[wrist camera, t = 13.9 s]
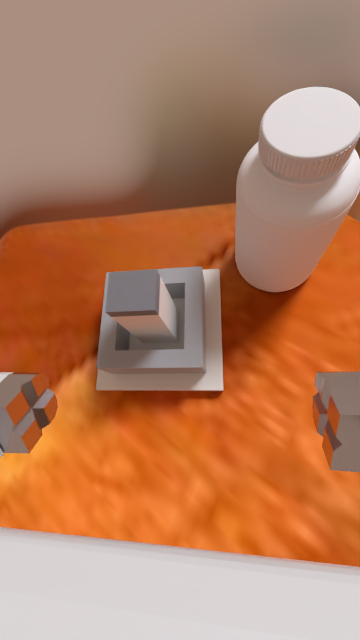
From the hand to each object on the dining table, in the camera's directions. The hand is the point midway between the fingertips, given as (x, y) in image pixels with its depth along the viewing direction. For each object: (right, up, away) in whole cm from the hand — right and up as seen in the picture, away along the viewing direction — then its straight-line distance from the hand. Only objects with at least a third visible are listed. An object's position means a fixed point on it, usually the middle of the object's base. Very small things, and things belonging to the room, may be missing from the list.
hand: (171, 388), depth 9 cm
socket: (-2, +1, +20) cm, 21 cm away
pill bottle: (+10, +8, +21) cm, 25 cm away
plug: (-2, +1, +20) cm, 20 cm away
